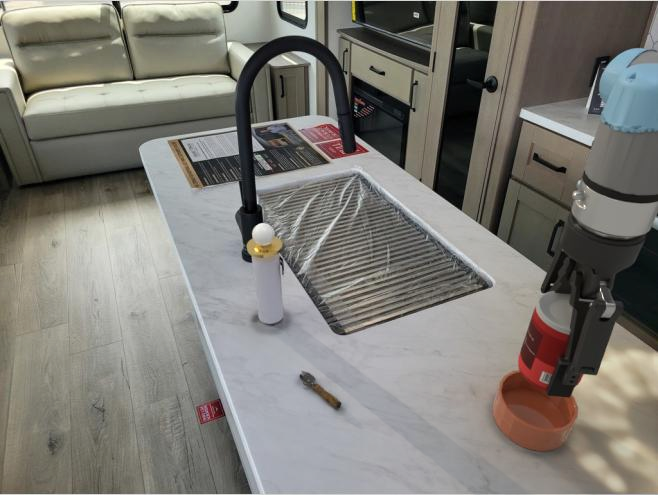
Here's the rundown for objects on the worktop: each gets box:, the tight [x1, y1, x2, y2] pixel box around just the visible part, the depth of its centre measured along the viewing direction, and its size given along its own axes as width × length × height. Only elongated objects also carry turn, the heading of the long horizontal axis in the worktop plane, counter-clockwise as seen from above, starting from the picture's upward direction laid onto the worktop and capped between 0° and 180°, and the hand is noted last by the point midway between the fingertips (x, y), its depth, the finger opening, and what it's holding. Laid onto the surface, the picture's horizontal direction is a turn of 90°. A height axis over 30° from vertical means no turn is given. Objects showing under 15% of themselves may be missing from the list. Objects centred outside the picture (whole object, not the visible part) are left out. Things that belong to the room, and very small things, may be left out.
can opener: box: [299, 370, 342, 409], centre depth 72 cm, size 9×2×1 cm, turn 39°
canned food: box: [517, 291, 595, 391], centre depth 60 cm, size 8×8×11 cm
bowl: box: [492, 369, 579, 452], centre depth 68 cm, size 10×10×4 cm
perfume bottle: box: [246, 222, 285, 325], centre depth 81 cm, size 6×6×20 cm
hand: (549, 368), depth 63 cm, fingers closed on canned food, 8 cm apart
